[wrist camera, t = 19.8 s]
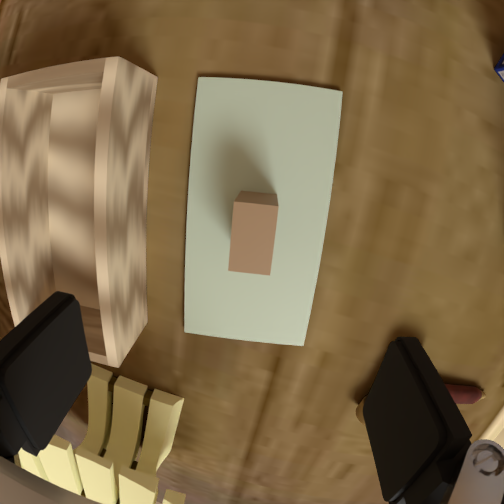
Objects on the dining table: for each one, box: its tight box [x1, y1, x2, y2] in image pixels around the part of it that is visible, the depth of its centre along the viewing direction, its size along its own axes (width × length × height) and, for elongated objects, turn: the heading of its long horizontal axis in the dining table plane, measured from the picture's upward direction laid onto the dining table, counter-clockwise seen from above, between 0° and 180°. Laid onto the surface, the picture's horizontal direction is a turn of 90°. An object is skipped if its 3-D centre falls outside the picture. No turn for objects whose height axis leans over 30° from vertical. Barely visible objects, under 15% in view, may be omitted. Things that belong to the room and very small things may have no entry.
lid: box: [184, 77, 343, 346], centre depth 25 cm, size 24×12×7 cm, turn 174°
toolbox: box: [0, 56, 158, 368], centre depth 24 cm, size 24×15×9 cm, turn 174°
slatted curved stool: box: [18, 363, 186, 504], centre depth 29 cm, size 30×16×18 cm, turn 73°
